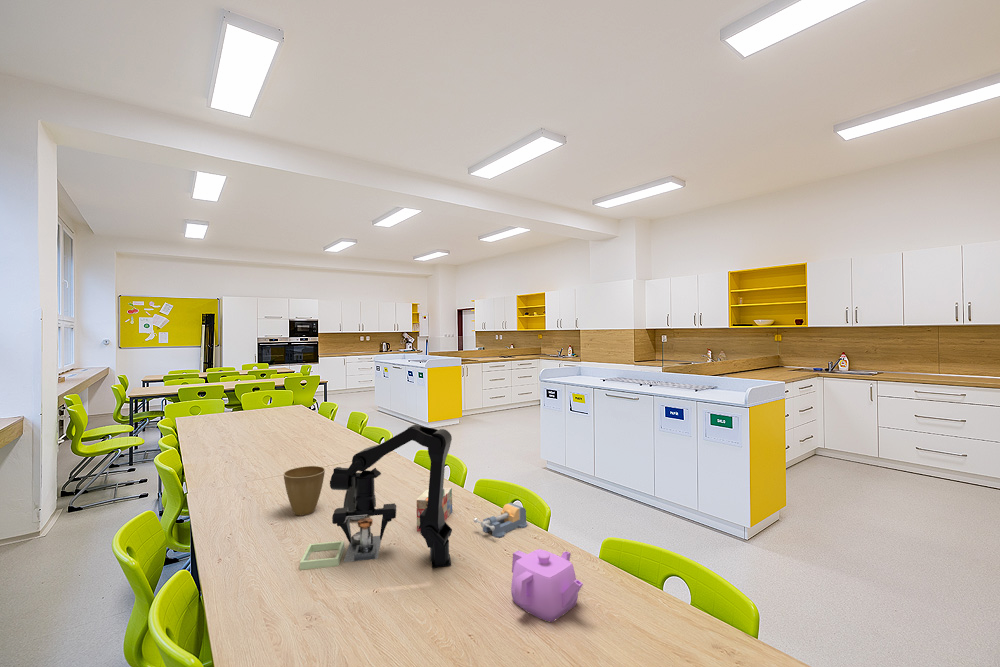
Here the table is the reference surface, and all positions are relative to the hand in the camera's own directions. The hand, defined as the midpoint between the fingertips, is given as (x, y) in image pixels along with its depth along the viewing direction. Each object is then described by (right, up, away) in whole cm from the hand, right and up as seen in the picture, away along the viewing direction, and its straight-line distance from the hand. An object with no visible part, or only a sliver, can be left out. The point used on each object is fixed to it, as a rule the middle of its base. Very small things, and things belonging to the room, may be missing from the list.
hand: (365, 540), depth 139 cm
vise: (+42, -5, +19) cm, 47 cm away
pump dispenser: (-12, -5, +30) cm, 33 cm away
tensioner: (-2, -5, +4) cm, 6 cm away
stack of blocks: (+18, -5, +25) cm, 31 cm away
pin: (0, -4, 0) cm, 4 cm away
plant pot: (-35, -6, +36) cm, 51 cm away
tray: (-12, -5, -2) cm, 14 cm away
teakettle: (+54, -5, -24) cm, 59 cm away
